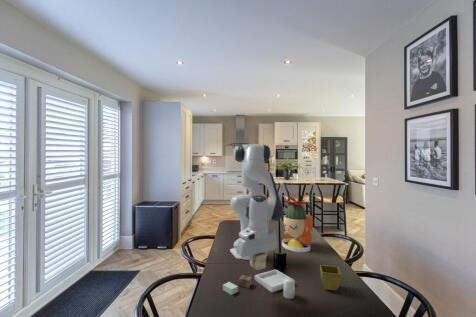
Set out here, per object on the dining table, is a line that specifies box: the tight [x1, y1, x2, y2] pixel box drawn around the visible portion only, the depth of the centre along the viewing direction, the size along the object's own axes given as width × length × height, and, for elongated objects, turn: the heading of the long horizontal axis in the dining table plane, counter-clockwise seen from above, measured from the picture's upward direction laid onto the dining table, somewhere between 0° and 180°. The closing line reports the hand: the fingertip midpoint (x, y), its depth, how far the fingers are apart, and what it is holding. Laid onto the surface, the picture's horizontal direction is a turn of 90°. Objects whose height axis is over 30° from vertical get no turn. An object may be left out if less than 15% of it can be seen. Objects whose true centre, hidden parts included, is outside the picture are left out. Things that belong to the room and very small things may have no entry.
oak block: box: [249, 252, 267, 271], centre depth 114 cm, size 5×5×6 cm
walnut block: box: [238, 274, 252, 289], centre depth 123 cm, size 5×4×4 cm
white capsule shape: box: [282, 277, 296, 300], centre depth 114 cm, size 5×5×7 cm
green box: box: [222, 281, 239, 296], centre depth 117 cm, size 6×4×3 cm, turn 44°
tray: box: [254, 269, 291, 293], centre depth 126 cm, size 14×14×2 cm
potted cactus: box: [281, 196, 314, 253], centre depth 177 cm, size 22×22×35 cm
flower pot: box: [319, 264, 342, 292], centre depth 121 cm, size 9×9×9 cm
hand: (258, 262), depth 114 cm, fingers closed on oak block, 5 cm apart
